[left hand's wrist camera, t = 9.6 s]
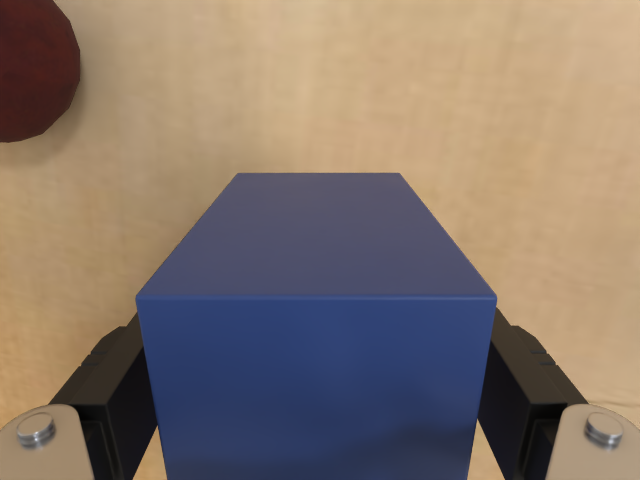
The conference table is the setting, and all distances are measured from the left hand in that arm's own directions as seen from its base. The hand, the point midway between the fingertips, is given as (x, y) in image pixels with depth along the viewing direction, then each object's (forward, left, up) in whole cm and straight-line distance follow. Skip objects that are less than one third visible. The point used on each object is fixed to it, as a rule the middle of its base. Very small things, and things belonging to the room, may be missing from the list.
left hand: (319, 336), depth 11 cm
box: (-7, +2, -6) cm, 9 cm away
